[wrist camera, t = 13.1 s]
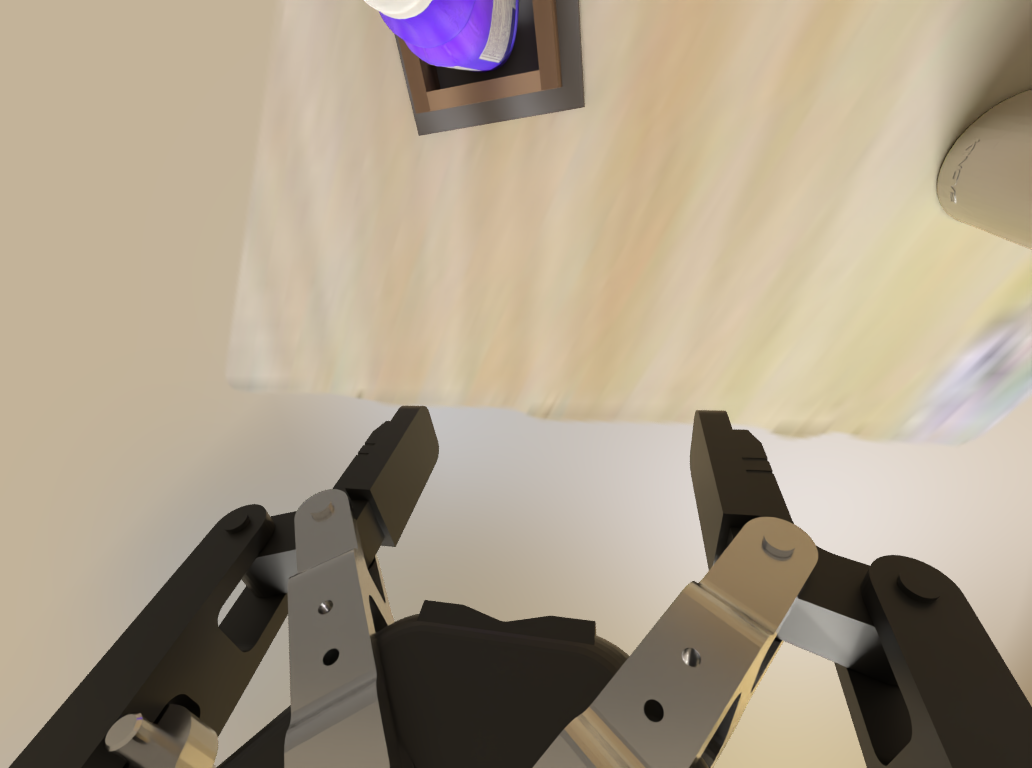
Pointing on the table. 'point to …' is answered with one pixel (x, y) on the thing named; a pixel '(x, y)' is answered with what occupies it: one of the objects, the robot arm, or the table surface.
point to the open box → (504, 75)
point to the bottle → (454, 30)
